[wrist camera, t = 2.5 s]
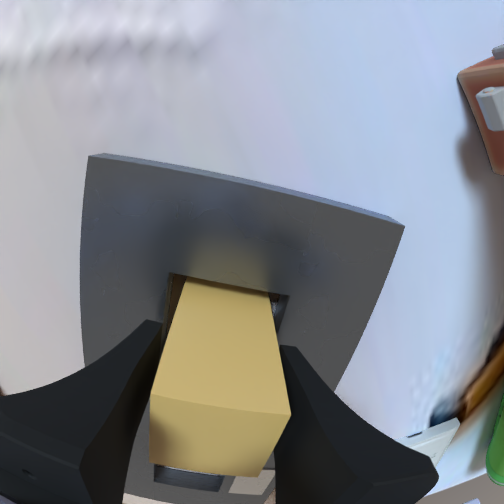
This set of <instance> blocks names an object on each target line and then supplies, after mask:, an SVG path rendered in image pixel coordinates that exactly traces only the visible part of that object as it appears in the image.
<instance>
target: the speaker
mask: <svg viewBox="0 0 504 504" xmlns="http://www.w3.org/2000/svg"><path fill="white" fill-rule="evenodd" d="M486 470H487V474H488V476H489V478H490V479H491V480H492V481H493V482H494V483H495V484H497V485H501V486H504V395H503V399H502V402H501V406H500V409H499V413H498V416H497V419H496V423H495V426H494V432H493V437H492V440H491V442H490V444H489V447H488V450H487V454H486Z"/></svg>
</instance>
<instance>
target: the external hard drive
mask: <svg viewBox="0 0 504 504" xmlns="http://www.w3.org/2000/svg"><path fill="white" fill-rule="evenodd" d="M459 425H460V422H459V421H458V419H457V418H454V419H452V420H449V421H447V422H444V423H442V424H439V425H437V426H434V427H431V428H428V429H426V430H423V431H422V432H420V433H417V434H414V435H412V436H409V437H407V436H405V437H402V438H399V439H395V441H397V442H399V443H401V444H403V445H404V446H406V447H409V448H411V449H413V450H416V451H418V452H420V453H423V454H425V455H427V456H429V457H430V458H431V460H432V463H433V465H434V467H436V466H437V464H438V463H439V461H440V459H441V458H442V456H443V454H444V453H445V451H446V449H447V447H448V446H449V444H450V442H451V440H452V438H453V437H454V435H455V433H456V431H457V429H458V427H459Z"/></svg>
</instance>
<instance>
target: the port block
mask: <svg viewBox="0 0 504 504" xmlns="http://www.w3.org/2000/svg"><path fill="white" fill-rule="evenodd" d="M404 228H405V226H404V225H402V224H401V223H399V222H397V221H396V220H394V219H392V218H391V217H389V216H386V215H382V214H379V213H376V212H372V211H369V210H365V209H362V208H358V207H355V206H351V205H348V204H344V203H340V202H337V201H333V200H329V199H326V198H322V197H318V196H314V195H310V194H306V193H303V192H299V191H295V190H291V189H286V188H282V187H278V186H274V185H270V184H265V183H261V182H257V181H252V180H248V179H243V178H239V177H234V176H230V175H225V174H220V173H215V172H210V171H205V170H200V169H195V168H190V167H185V166H179V165H174V164H168V163H163V162H157V161H151V160H145V159H139V158H133V157H127V156H120V155H113V154H106V153H103V154H97V155H90V156H88V163H87V171H86V179H85V188H84V198H83V210H82V224H81V244H80V308H81V328H82V342H83V353H84V363H85V367H86V366H88V365H90V364H91V363H93V362H94V361H96V360H97V359H99V358H100V357H102V356H103V355H104V354H106V353H107V352H109V351H110V350H111V349H113V348H114V347H115V346H116V345H118V344H119V343H120V342H121V341H122V340H124V339H125V338H126V337H127V336H128V335H129V334H131V333H132V332H133V331H134V330H135V329H136V328H137V327H138V326H139V325H140V324H141V323H142V322H143V321H145V320H146V319H148V320H152V321H156V322H161V323H163V327H162V336H161V346H160V357H159V363H160V360H161V356H162V353H163V350H164V346H165V339H166V330H167V322H168V313H169V305H170V298H171V290H172V283H173V276H174V273H176V274H181V275H186V276H191V277H195V278H200V279H205V280H210V281H215V282H220V283H225V284H230V285H235V286H240V287H245V288H251V289H256V290H261V291H267V292H272V293H277V294H280V297H279V300H278V303H277V306H276V310H275V313H274V316H273V321H274V326H275V331H276V336H277V342H278V347H280V344H281V345H288V346H295V347H297V348H298V349H299V351H300V352H301V353H302V355H303V356H304V357H305V358H306V360H307V361H308V362H309V364H310V365H311V366H312V367H313V369H314V370H315V371H316V372H317V374H318V375H319V376H320V377H321V379H322V380H323V381H324V382H325V383H326V384H327V385H328V387H329V388H330V389H331V390H332V391H333V392H334V391H335V389H336V387H337V385H338V383H339V381H340V379H341V377H342V375H343V374H344V372H345V370H346V368H347V366H348V364H349V362H350V360H351V358H352V355H353V353H354V351H355V349H356V347H357V345H358V343H359V341H360V339H361V337H362V334H363V332H364V330H365V328H366V326H367V323H368V321H369V319H370V316H371V314H372V312H373V310H374V307H375V305H376V302H377V300H378V298H379V295H380V293H381V290H382V288H383V285H384V283H385V280H386V278H387V275H388V273H389V270H390V267H391V265H392V262H393V259H394V257H395V254H396V251H397V248H398V245H399V243H400V240H401V237H402V234H403V231H404ZM149 423H150V398H149V401H148V403H147V406H146V409H145V411H144V414H143V417H142V420H141V422H140V425H139V428H138V431H137V434H136V437H135V440H134V444H133V448H132V453H131V457H130V462H129V467H128V472H127V477H126V483H125V488H124V493H127V494H131V495H135V496H139V497H144V498H148V499H153V500H157V501H162V502H168V503H173V504H263V503H264V502H265V501H266V499H267V498H268V497H269V495H270V494H271V492H272V491H273V490H274V488H275V460H274V452H273V451H272V453H271V455H270V456H269V458H268V460H267V462H266V464H265V466H264V467H263V469H262V471H261V473H260V474H259V476H258V478H256V477H242V476H231V475H221V474H220V475H219V476H213V475H205V474H198V473H192V472H186V471H180V470H174V469H169V468H164V467H159V466H157V464H155V463H150V462H149Z"/></svg>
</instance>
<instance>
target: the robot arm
mask: <svg viewBox="0 0 504 504" xmlns="http://www.w3.org/2000/svg"><path fill="white" fill-rule="evenodd" d="M162 327H163V323H161V322H156V321H152V320H148V319H146V320H145V321H143V322H142V323H141V324H140V325H139V326H138V327H137V328H136V329H135V330H134V331H133V332H132V333H131V334H129V335H128V336H127V337H126V338H125V339H124V340H122V341H121V342H120V343H119V344H118V345H116V346H115V347H114V348H113V349H111V350H110V351H109V352H107V353H106V354H104V355H103V356H102V357H100V358H99V359H97V360H96V361H94V362H93V363H91V364H90V365H88V366H86V367H85V368H83V369H81V370H79V371H78V372H76V373H74V374H72V375H70V376H67V377H65V378H63V379H61V380H59V381H56V382H54V383H51V384H48V385H46V386H43V387H40V388H36V389H33V390H30V391H26V392H22V393H17V394H12V395H7V396H1V397H0V504H122V501H123V494H124V488H125V483H126V477H127V472H128V467H129V462H130V457H131V453H132V448H133V444H134V440H135V437H136V434H137V431H138V428H139V425H140V422H141V420H142V417H143V414H144V411H145V409H146V406H147V403H148V401H149V398H150V394H151V390H152V387H153V383H154V380H155V376H156V373H157V370H158V366H159V357H160V346H161V336H162ZM279 352H280V357H281V363H282V368H283V373H284V379H285V384H286V389H287V395H288V400H289V406H290V411H291V416H290V418H289V420H288V422H287V424H286V426H285V428H284V430H283V432H282V434H281V436H280V438H279V440H278V442H277V443H276V445H275V447H274V449H273V452H274V460H275V489H276V504H415V503H416V502H417V501H418V500H420V499H421V498H422V497H424V496H425V495H426V494H427V493H428V492H429V491H430V490H431V489H432V488H433V487H434V486H435V485H436V483H437V482H438V479H439V475H438V473H437V471H436V469H435V467H434V465H433V463H432V460H431V458H430V457H429V456H427V455H425V454H423V453H420V452H418V451H416V450H413V449H411V448H409V447H406V446H404V445H403V444H401V443H399V442H397V441H395V440H393V439H392V438H390V437H388V436H387V435H385V434H383V433H382V432H380V431H379V430H377V429H376V428H374V427H373V426H372V425H370V424H369V423H367V422H366V421H365V420H363V419H362V418H361V417H360V416H358V415H357V414H356V413H355V412H354V411H353V410H351V409H350V408H349V407H348V406H347V405H346V404H345V403H344V402H343V401H342V400H341V399H340V398H339V397H338V396H337V395H336V394H335V393H334V392H333V391H332V390H331V389H330V388H329V387H328V385H327V384H326V383H325V382H324V381H323V380H322V379H321V377H320V376H319V375H318V374H317V372H316V371H315V370H314V369H313V367H312V366H311V365H310V364H309V362H308V361H307V360H306V358H305V357H304V356H303V355H302V353H301V352H300V351H299V349H298V348H297V347H295V346H288V345H281V344H280V347H279ZM463 504H480V501H479V499H478V498H475V499H473V500H470V501H468V502H465V503H463Z"/></svg>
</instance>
